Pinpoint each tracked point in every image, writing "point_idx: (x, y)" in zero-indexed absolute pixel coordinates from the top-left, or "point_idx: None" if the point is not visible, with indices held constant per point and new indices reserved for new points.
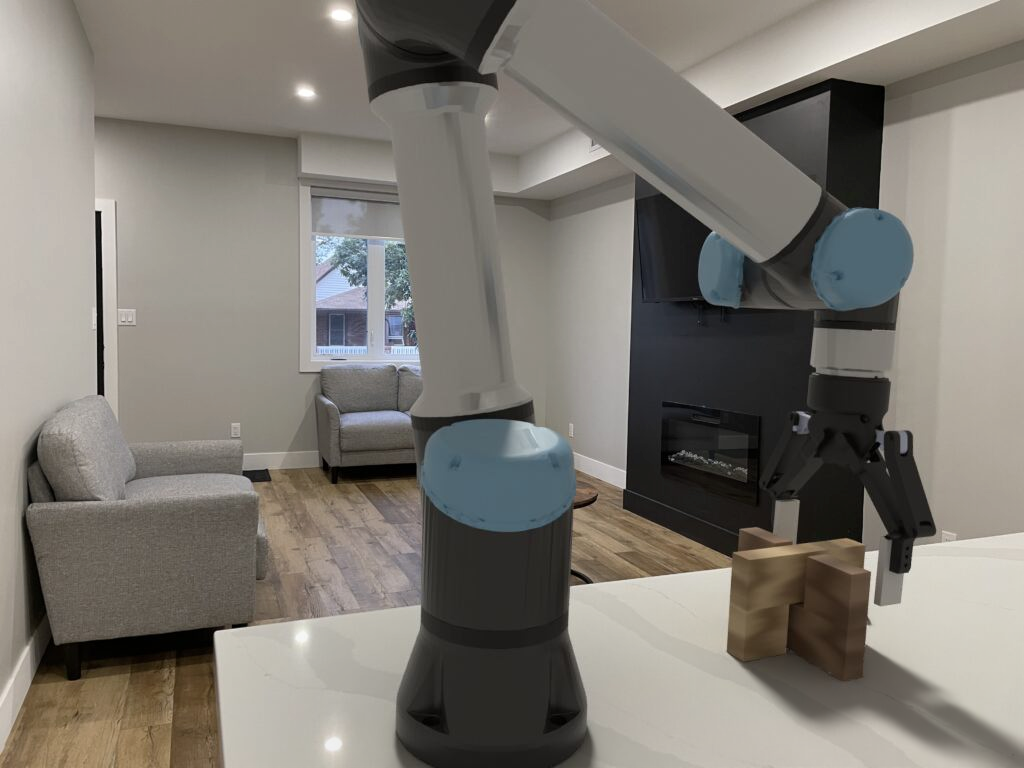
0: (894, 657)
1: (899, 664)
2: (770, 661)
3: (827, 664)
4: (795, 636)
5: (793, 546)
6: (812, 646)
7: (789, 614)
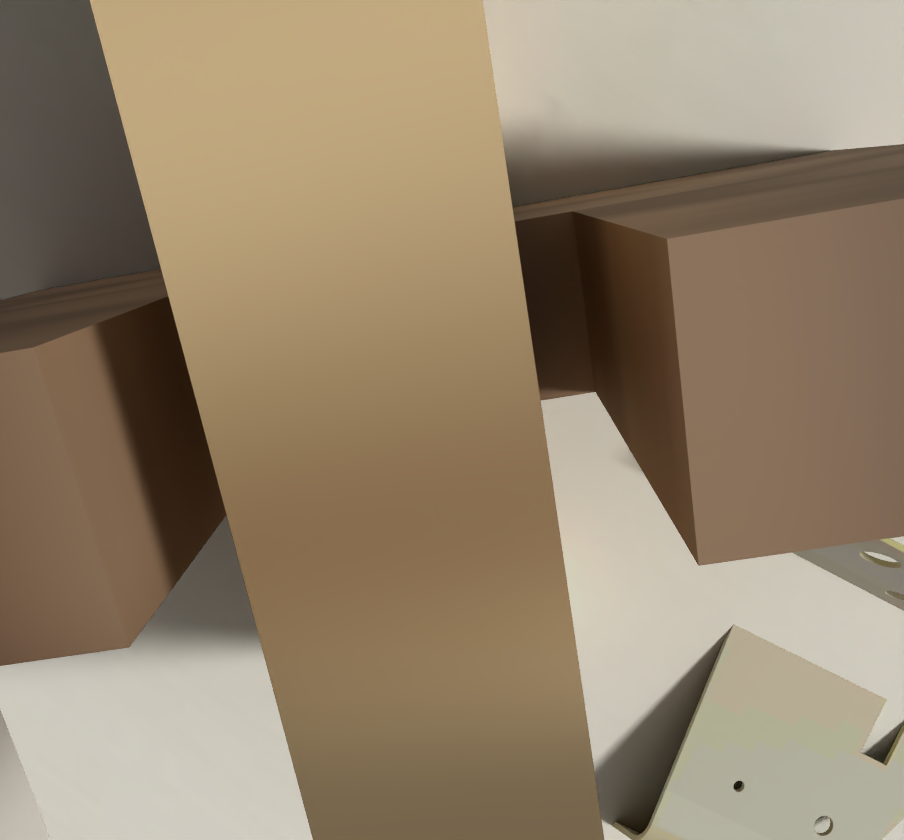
0: (247, 674)
1: (182, 648)
2: None
3: (121, 277)
4: None
5: (483, 433)
6: None
7: None
